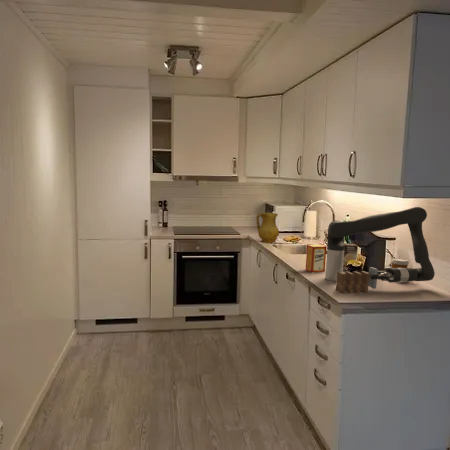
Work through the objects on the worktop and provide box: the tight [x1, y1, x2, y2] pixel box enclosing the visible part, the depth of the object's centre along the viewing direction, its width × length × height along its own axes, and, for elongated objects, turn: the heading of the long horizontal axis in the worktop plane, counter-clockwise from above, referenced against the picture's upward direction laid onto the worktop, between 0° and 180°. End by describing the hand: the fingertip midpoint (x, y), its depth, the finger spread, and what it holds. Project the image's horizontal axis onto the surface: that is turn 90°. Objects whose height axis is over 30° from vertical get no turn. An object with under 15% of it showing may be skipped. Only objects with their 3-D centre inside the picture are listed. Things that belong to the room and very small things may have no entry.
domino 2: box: [344, 270, 353, 294], centre depth 218 cm, size 2×5×10 cm, turn 14°
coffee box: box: [343, 242, 359, 271], centre depth 270 cm, size 9×6×16 cm
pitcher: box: [256, 212, 280, 244], centre depth 365 cm, size 17×19×25 cm
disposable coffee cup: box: [390, 257, 410, 268], centre depth 248 cm, size 10×10×12 cm
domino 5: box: [368, 266, 379, 289], centre depth 222 cm, size 2×5×10 cm, turn 14°
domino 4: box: [360, 270, 369, 294], centre depth 221 cm, size 2×5×10 cm, turn 14°
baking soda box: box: [305, 244, 328, 273], centre depth 262 cm, size 10×6×16 cm
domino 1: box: [335, 272, 345, 294], centre depth 217 cm, size 2×5×10 cm, turn 14°
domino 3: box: [352, 270, 361, 294], centre depth 220 cm, size 2×5×10 cm, turn 14°
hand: (368, 275), depth 221 cm, fingers closed on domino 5, 5 cm apart
